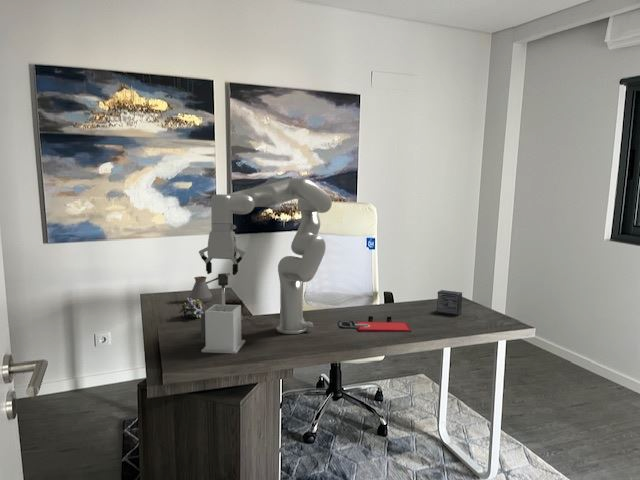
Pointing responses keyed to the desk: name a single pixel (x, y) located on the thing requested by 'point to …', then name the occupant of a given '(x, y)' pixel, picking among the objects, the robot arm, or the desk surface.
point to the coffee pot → (202, 289)
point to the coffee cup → (236, 302)
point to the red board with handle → (377, 326)
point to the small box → (449, 302)
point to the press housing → (222, 329)
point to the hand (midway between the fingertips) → (222, 273)
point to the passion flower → (193, 307)
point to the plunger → (223, 286)
